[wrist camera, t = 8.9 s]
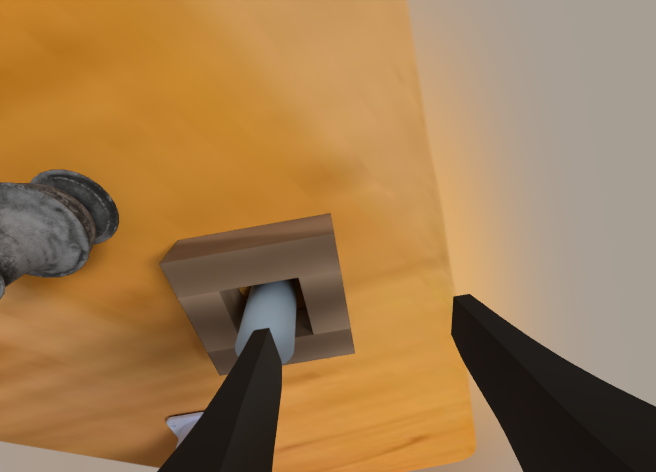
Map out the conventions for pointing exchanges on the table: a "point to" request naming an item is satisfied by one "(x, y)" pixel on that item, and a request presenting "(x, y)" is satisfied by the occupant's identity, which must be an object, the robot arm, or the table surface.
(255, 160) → the table surface
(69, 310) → the table surface
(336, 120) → the table surface
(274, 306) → the peg
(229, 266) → the socket block
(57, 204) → the dark grey chess piece
